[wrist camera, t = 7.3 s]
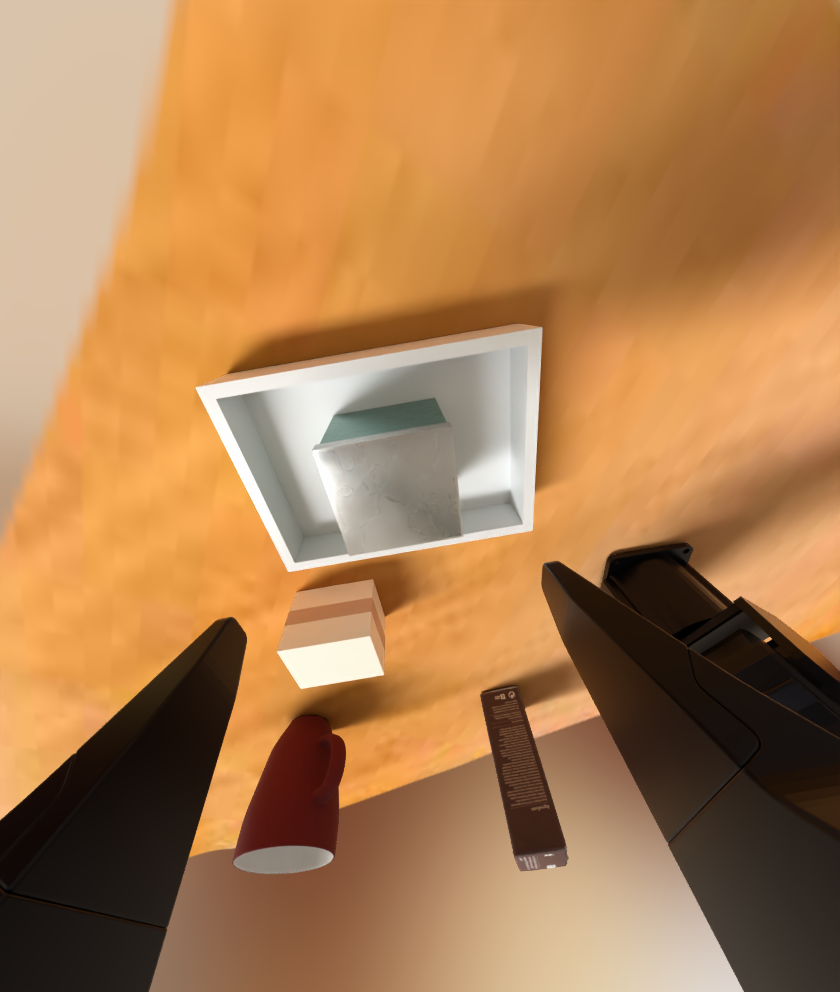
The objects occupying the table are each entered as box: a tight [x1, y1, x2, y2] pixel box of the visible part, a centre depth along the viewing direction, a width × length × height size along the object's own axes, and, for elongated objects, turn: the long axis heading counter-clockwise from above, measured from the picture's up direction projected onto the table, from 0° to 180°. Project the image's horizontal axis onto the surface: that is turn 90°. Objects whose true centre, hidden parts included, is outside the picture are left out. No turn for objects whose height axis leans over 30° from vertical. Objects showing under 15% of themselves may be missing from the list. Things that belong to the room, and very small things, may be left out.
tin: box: [312, 398, 463, 556], centre depth 16 cm, size 6×6×5 cm
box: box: [480, 686, 568, 871], centre depth 31 cm, size 6×4×12 cm
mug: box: [233, 715, 346, 874], centre depth 30 cm, size 10×8×10 cm
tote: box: [195, 323, 543, 572], centre depth 18 cm, size 15×11×3 cm
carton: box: [277, 579, 385, 689], centre depth 24 cm, size 6×4×5 cm
